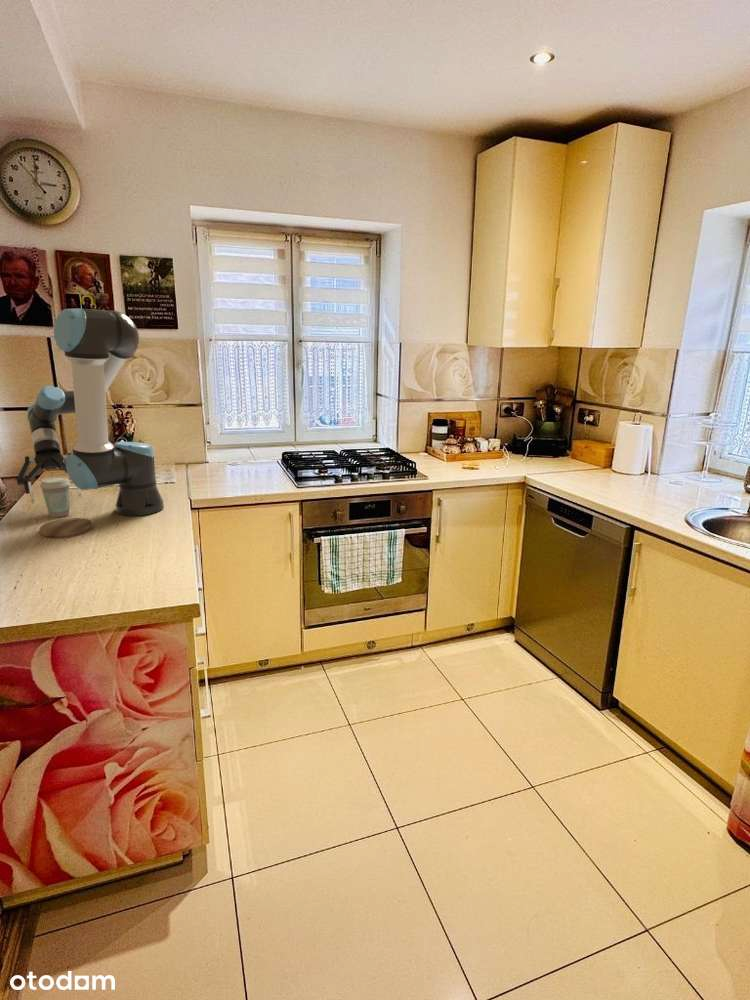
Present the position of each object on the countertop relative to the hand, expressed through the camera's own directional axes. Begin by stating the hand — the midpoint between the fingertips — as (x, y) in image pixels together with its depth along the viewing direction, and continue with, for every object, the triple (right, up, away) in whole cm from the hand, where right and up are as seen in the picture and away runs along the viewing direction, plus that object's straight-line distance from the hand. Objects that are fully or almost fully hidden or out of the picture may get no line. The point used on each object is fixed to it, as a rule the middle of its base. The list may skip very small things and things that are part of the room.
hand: (56, 498), depth 181 cm
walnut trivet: (+9, -10, -11) cm, 17 cm away
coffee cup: (-1, -6, +3) cm, 6 cm away
